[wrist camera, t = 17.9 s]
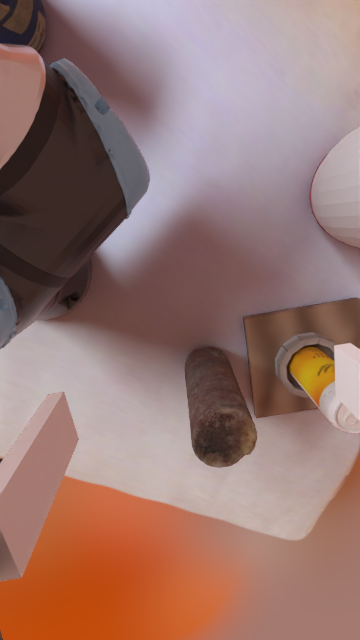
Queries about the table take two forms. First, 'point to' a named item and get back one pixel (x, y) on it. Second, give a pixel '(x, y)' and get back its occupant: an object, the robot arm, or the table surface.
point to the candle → (217, 410)
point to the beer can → (322, 386)
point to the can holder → (294, 349)
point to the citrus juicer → (339, 191)
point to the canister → (22, 23)
